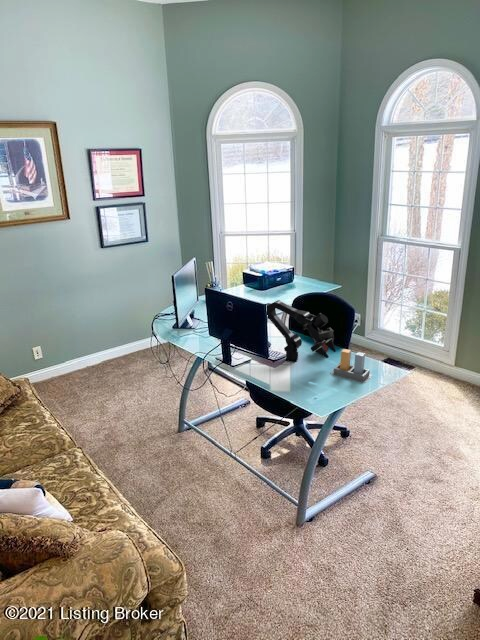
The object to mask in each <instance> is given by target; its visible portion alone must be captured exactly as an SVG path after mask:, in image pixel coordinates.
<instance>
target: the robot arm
mask: <svg viewBox="0 0 480 640" xmlns="http://www.w3.org/2000/svg"><path fill="white" fill-rule="evenodd" d="M265 304H266V305H267V315H268V318H267V319H268V320H270V322H271V323H272V324H273V325H274V327H276V329H277V330H278V331H279V333H280V334H281V335H282V336H283V338H284V339H285V343H286V346H284V348H283V350H284V352H285V361H286V362H295V363H297V361H298V359H299V351H298V349H299V348H300V347H301V346H302V344H303V340H302V338H301V337H300V336H299V334H298V333H293V332H291V330H290V329H289V328H288V327H287V326H286V324H285V323H284V322H283V320H282V319H281V318H280V317H279V316H278V314H277V312H276V309H277V310H279V311H280V312H283V313H285V314H287V315H289V316H290V317H292V318H294V320H295V321H296V322H297V323H299V324H301V325H302V331H304V330H306V331H307V332H308V333H309V335H310V336H311V337H310V338H311V339H313V340H314V344H313V345H311V347H310V350H311V352H312V353H316V354H319V355H321V356H323V357H325V358H326V359H328V358H329V354H328V353H327V352H326V351H325V350H324V345H323V343H325V342H326V343H325V345H326V346H328V349H330V350H331V351H332V352H333V353H336V352H337V351H336V350H337V349H336V348H335V344H334V339H335V334H334V330H333V329H332V328H331V327H327V328H326V329H325V330H323V329H321V328H322V327H324V326H325V325H326V324H328V323H329V319H328V317H327V316H326V315H325V314H323V313H322V312H320V313H318V314H317V315H314V314H311V313H310V312H309V311H306V310H300V309H297V308H295V307H293V306H291V305H289V304H287V303H285V302H283V301H282V300H275V301H274V302H271V303H269V302H267V303H265ZM315 341H316V343H315ZM322 345H323V346H322Z"/></svg>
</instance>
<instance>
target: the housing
mask: <svg viewBox="0 0 480 640" xmlns="http://www.w3.org/2000/svg"><path fill="white" fill-rule="evenodd" d="M370 371H371V370H370V369H369V368H364V372H363V375H360V374H357V373H354V365H353V364H352V365H351V364H350V370H349V371H345V370H341V369H340V362H339V363H338V364H337V365H336V366H335V367H334V368H333V370H332V371H331V372H330V374H329V375H333V376H335V377H341V378H344V379H348V380H351V381H355V382H359V383H362V384H366V383H367V382H368V381H369V379H370V378H372V377H373V374H372V373H370Z"/></svg>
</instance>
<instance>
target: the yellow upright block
mask: <svg viewBox="0 0 480 640" xmlns="http://www.w3.org/2000/svg"><path fill="white" fill-rule="evenodd" d="M351 357H352V350H351V349H346V348H343V349H342V350H341V352H340V362H339V363H340V369H341V370H345V371H349V370H350V365H351V359H352V358H351Z"/></svg>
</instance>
